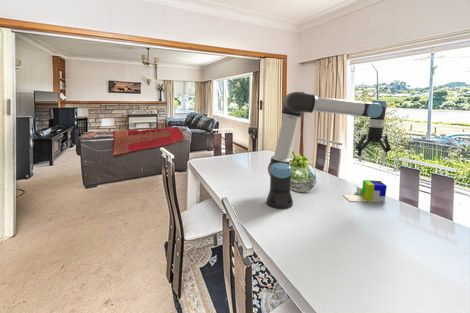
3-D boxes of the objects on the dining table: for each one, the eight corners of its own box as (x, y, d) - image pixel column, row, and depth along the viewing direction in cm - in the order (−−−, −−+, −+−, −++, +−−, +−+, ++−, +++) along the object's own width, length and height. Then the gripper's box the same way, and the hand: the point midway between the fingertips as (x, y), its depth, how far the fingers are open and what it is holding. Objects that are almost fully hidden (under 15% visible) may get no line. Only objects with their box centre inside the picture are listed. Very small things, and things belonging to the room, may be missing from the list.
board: (349, 201, 152) (349, 201, 152) (342, 195, 163) (342, 194, 163) (386, 202, 152) (386, 201, 152) (376, 195, 163) (376, 195, 163)
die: (359, 194, 164) (360, 188, 164) (356, 192, 169) (357, 185, 168) (366, 194, 164) (367, 188, 163) (363, 192, 169) (364, 185, 168)
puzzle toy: (384, 201, 152) (386, 185, 150) (366, 200, 153) (368, 184, 151) (378, 196, 161) (380, 180, 159) (361, 194, 163) (363, 180, 161)
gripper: (357, 126, 146) (353, 162, 151) (401, 127, 146) (395, 163, 150) (352, 125, 154) (348, 159, 158) (393, 126, 153) (388, 160, 158)
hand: (371, 161), depth 154 cm, fingers open, 13 cm apart
